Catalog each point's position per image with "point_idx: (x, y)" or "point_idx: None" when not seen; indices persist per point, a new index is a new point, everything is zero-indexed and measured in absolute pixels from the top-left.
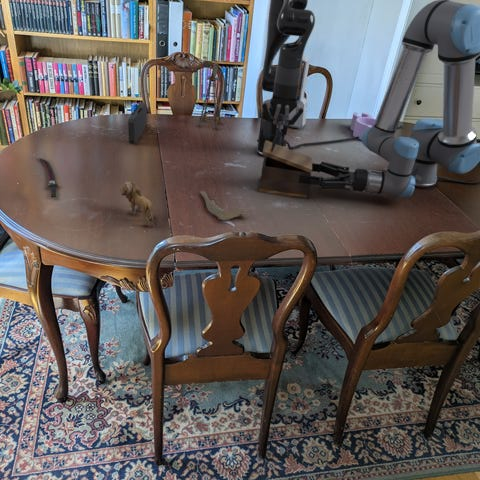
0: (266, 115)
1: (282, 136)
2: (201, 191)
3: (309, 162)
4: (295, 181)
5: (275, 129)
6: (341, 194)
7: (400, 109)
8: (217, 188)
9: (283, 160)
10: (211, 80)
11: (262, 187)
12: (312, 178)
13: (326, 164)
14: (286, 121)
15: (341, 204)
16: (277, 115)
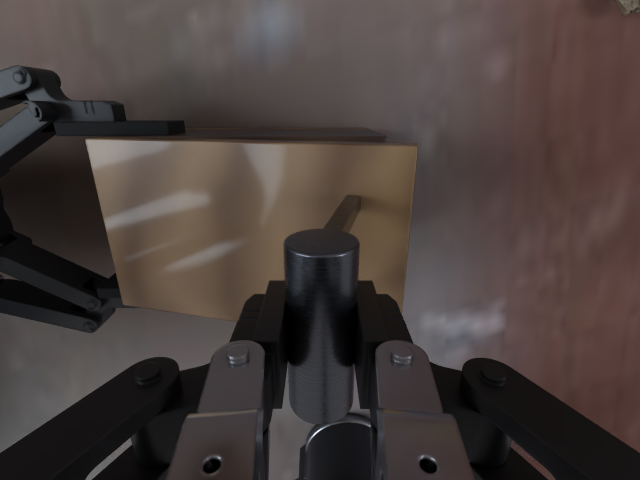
0: (587, 429)
1: (284, 280)
2: (636, 2)
3: (119, 231)
4: (202, 132)
5: (365, 308)
6: (37, 206)
7: None
8: (542, 100)
9: (262, 140)
10: None
11: (356, 129)
12: (100, 121)
13: (70, 312)
14: (235, 385)
15: (16, 113)
16: (406, 439)
